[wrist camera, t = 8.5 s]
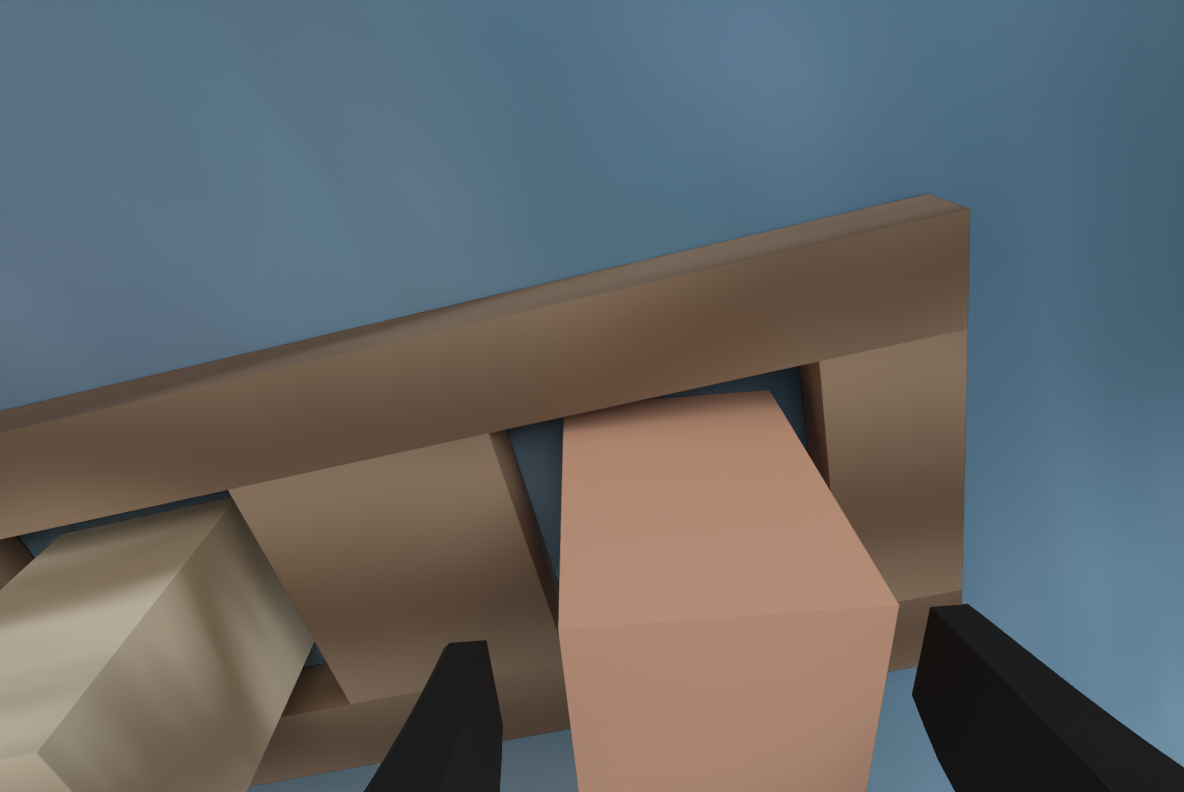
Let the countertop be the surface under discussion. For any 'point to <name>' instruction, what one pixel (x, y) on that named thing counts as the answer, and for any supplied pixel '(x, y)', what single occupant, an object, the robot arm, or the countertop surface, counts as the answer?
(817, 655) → the terracotta block
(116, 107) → the countertop surface
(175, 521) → the maple block
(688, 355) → the puzzle board
